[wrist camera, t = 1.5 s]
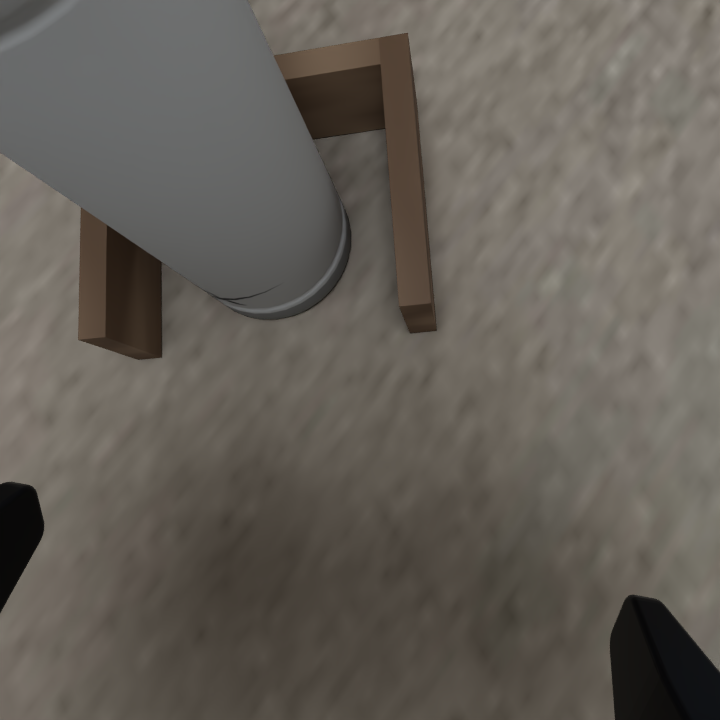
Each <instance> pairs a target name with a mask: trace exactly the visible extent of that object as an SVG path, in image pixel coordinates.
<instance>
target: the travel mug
mask: <svg viewBox="0 0 720 720" xmlns="http://www.w3.org/2000/svg"><path fill="white" fill-rule="evenodd" d="M0 153H2V154H3V155H5V156H6V157H8V158H9V159H11V160H12V161H14V162H15V163H16V164H18V165H19V166H21V167H22V168H24V169H25V170H27V171H28V172H30V173H31V174H33V175H34V176H36V177H37V178H39V179H40V180H42V181H43V182H45V183H46V184H48V185H49V186H50V187H52V188H53V189H55V190H56V191H58V192H59V193H61V194H62V195H64V196H65V197H67V198H68V199H70V200H71V201H73V202H74V203H76V204H77V205H79V206H80V207H81V208H83V209H84V210H86V211H87V212H89V213H90V214H92V215H93V216H95V217H96V218H98V219H99V220H101V221H102V222H104V223H105V224H107V225H108V226H110V227H111V228H112V229H114V230H115V231H117V232H118V233H120V234H121V235H123V236H124V237H126V238H127V239H129V240H130V241H132V242H133V243H135V244H136V245H138V246H139V247H141V248H142V249H143V250H145V251H146V252H148V253H149V254H151V255H152V256H154V257H155V258H157V259H158V260H160V261H161V262H163V263H164V264H166V265H167V266H169V267H170V268H172V269H173V270H174V271H176V272H177V273H179V274H180V275H182V276H183V277H185V278H186V279H188V280H189V281H191V282H192V283H194V284H195V285H197V286H198V287H200V288H201V289H203V290H204V291H205V292H207V293H208V294H210V295H211V296H213V297H214V298H216V299H217V300H219V301H220V302H222V303H223V304H225V305H226V306H228V307H229V308H231V309H232V310H234V311H235V312H238V313H240V314H243V315H245V316H248V317H253V318H258V319H280V318H285V317H289V316H293V315H296V314H298V313H300V312H303V311H305V310H307V309H309V308H310V307H312V306H313V305H315V304H316V303H318V302H319V301H321V300H322V299H323V298H324V297H325V296H326V295H327V294H328V293H329V292H330V291H331V290H332V288H333V287H334V286H335V284H336V283H337V281H338V280H339V278H340V277H341V275H342V273H343V270H344V268H345V266H346V264H347V260H348V256H349V252H350V247H351V230H350V225H349V219H348V216H347V214H346V211H345V209H344V206H343V204H342V202H341V200H340V197H339V195H338V193H337V191H336V189H335V187H334V185H333V182H332V180H331V178H330V176H329V174H328V172H327V170H326V167H325V165H324V163H323V161H322V159H321V157H320V155H319V152H318V150H317V148H316V146H315V144H314V142H313V139H312V137H311V135H310V133H309V131H308V129H307V127H306V124H305V122H304V120H303V118H302V116H301V114H300V112H299V109H298V107H297V105H296V103H295V101H294V99H293V97H292V94H291V92H290V90H289V88H288V86H287V84H286V82H285V79H284V77H283V75H282V73H281V71H280V69H279V66H278V64H277V62H276V60H275V58H274V56H273V54H272V51H271V49H270V47H269V45H268V43H267V41H266V39H265V36H264V34H263V32H262V30H261V28H260V26H259V24H258V21H257V19H256V17H255V15H254V13H253V11H252V8H251V6H250V4H249V2H248V0H0Z"/></svg>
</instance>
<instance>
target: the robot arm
mask: <svg viewBox="0 0 720 720" xmlns="http://www.w3.org/2000/svg"><path fill="white" fill-rule="evenodd" d="M43 532H44V520H43V516H42V512H41V508H40V504H39V499H38V495H37V492H36V490H35V489H34V488H33V486H30V485H26V484H21V483H15V482H5V483H2V484H0V613H1V611H2V609H3V607H4V605H5V604H6V602H7V600H8V598H9V596H10V595H11V593H12V591H13V589H14V587H15V586H16V584H17V582H18V580H19V578H20V577H21V575H22V573H23V571H24V569H25V568H26V566H27V564H28V562H29V560H30V559H31V557H32V555H33V553H34V551H35V550H36V548H37V546H38V544H39V542H40V540H41V538H42V536H43ZM610 657H611V671H612V684H613V698H614V712H615V720H720V672H719V671H718V669H717V668H716V667H715V666H714V664H713V663H712V662H711V661H710V660H709V658H708V657H707V656H706V655H705V654H704V652H703V651H702V650H701V649H700V648H699V646H698V645H697V644H696V643H695V641H694V640H693V639H692V638H691V637H690V635H689V634H688V633H687V632H686V631H685V629H684V628H683V627H682V626H681V625H680V623H679V622H678V621H677V620H676V618H675V617H674V616H673V615H672V614H671V612H670V611H669V610H668V609H667V608H666V606H665V605H664V604H663V603H662V602H660V601H659V600H657V599H654V598H649V597H643V596H638V595H629V596H628V597H627V598H626V599H625V601H624V603H623V605H622V608H621V610H620V613H619V615H618V617H617V620H616V622H615V625H614V627H613V630H612V633H611V638H610Z"/></svg>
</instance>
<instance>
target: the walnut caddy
mask: <svg viewBox="0 0 720 720" xmlns="http://www.w3.org/2000/svg"><path fill="white" fill-rule="evenodd" d="M274 58H275V60H276V62H277V64H278V66H279V69H280V71H281V73H282V75H283V77H284V79H285V82H286V84H287V86H288V88H289V90H290V92H291V94H292V97H293V99H294V101H295V103H296V105H297V107H298V109H299V112H300V114H301V116H302V118H303V120H304V122H305V124H306V127H307V129H308V131H309V133H310V135H311V137H312V139H316V138H323V137H330V136H337V135H343V134H350V133H357V132H364V131H370V130H377V129H384V128H386V142H387V155H388V168H389V181H390V194H391V207H392V220H393V233H394V246H395V259H396V273H397V286H398V299H399V307H400V310H401V312H402V315H403V317H404V320H405V322H406V325H407V327H408V329H409V332H410V333H418V332H428V331H437V329H436V317H435V306H434V294H433V283H432V271H431V260H430V248H429V237H428V225H427V214H426V202H425V191H424V179H423V168H422V156H421V145H420V133H419V122H418V110H417V99H416V92H415V84H414V77H413V69H412V61H411V54H410V46H409V39H408V33H404V34H398V35H392V36H386V37H381V38H375V39H369V40H363V41H357V42H351V43H345V44H340V45H334V46H328V47H322V48H316V49H310V50H304V51H298V52H293V53H287V54H281V55H275V56H274ZM78 340H80V341H83V342H86V343H89V344H92V345H95V346H99V347H102V348H105V349H108V350H111V351H114V352H117V353H120V354H123V355H126V356H129V357H132V358H135V359H138V360H140V359H150V358H160V357H162V350H161V261H160V260H158V259H157V258H155V257H154V256H152V255H151V254H149V253H148V252H146V251H145V250H143V249H142V248H141V247H139V246H138V245H136V244H135V243H133V242H132V241H130V240H129V239H127V238H126V237H124V236H123V235H121V234H120V233H118V232H117V231H115V230H114V229H112V228H111V227H110V226H108V225H107V224H105V223H104V222H102V221H101V220H99V219H98V218H96V217H95V216H93V215H92V214H90V213H89V212H87V211H86V210H84V209H83V208H81V228H80V277H79V327H78Z"/></svg>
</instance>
